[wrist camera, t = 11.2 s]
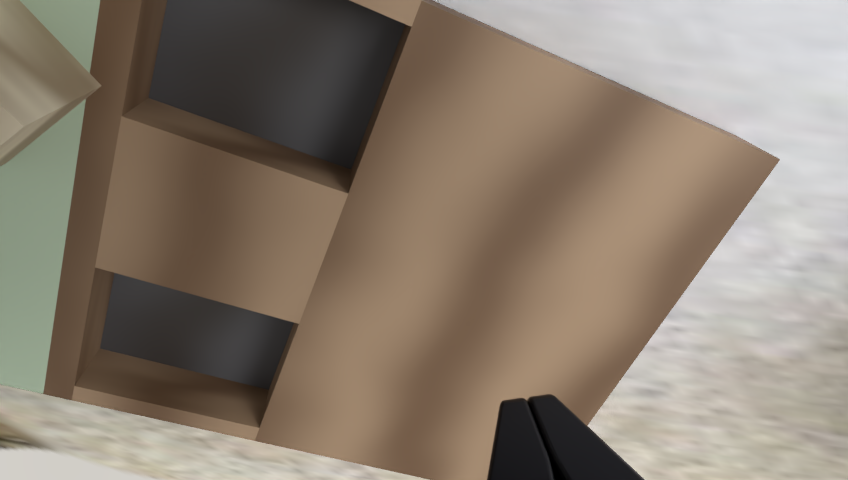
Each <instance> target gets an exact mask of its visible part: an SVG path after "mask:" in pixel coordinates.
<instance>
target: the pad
mask: <svg viewBox="0 0 848 480" xmlns="http://www.w3.org/2000/svg"><path fill="white" fill-rule="evenodd" d="M20 1H21V2H22V3H23V4H24V5H25V6H26V8H27V9H28V10H29V11H30V12H31V13H32V14H33V15H34V16H35V17H36V18H37V19H38V20H39V21H40V22H41V23H42V24H43V25H44V26H45V27H46V28H47V29H48V30H49V31H50V33H51V34H52V35H53V36H54V37H55V38H56V39H57V40H58V41H59V42H60V43H61V44H62V45H63V46H64V47H65V48H66V49H67V50H68V51H69V52H70V53H71V54H72V55H73V56H74V57H75V59H76V60H77V61H78V62H79V63H80V64H81V65H82V66H83V67H84V68H85V69H86V70H87V71H88V72H89V73H90V68H91V61H92V54H93V47H94V40H95V33H96V26H97V19H98V12H99V6H100V0H20ZM85 102H86V99H85V100H84V101H82V102H81V103H80V104H79V105H77V106H76V107H75V108H74V109H73V110H71V111H70V112H69V113H68V114H66V115H65V116H64V117H63V118H61V119H60V120H59V121H58V122H57V123H55V124H54V125H53V126H52V127H50V128H49V129H48V130H47V131H45V132H44V133H43V134H42V135H40V136H39V137H38V138H37V139H36V140H34V141H33V142H32V143H31V144H29V145H28V146H27V147H26V148H24V149H23V150H22V151H21V152H19V153H18V154H17V155H16V156H15V157H13V158H12V159H11V160H10V161H8V162H7V163H5V164H4V165H2V166H0V384H1V385H5V386H10V387H14V388H19V389H23V390H28V391H32V392H37V393H41V394H43V392H44V385H45V378H46V372H47V365H48V358H49V351H50V344H51V337H52V330H53V323H54V316H55V309H56V303H57V296H58V289H59V282H60V275H61V268H62V261H63V254H64V247H65V240H66V233H67V227H68V220H69V213H70V206H71V199H72V192H73V185H74V178H75V171H76V164H77V157H78V151H79V144H80V137H81V130H82V123H83V116H84V109H85Z"/></svg>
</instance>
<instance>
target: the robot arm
mask: <svg viewBox="0 0 848 480" xmlns="http://www.w3.org/2000/svg"><path fill="white" fill-rule="evenodd" d="M487 480H644V479H643V478H642V477H641V476H640V475H639V474H638V473H637V472H636V471H635V470H634V469H633V468H632V467H630V466H629V465H628V464H627V463H626V462H625V461H624V460H623V459H622V458H621V457H620V456H619V455H618V454H617V453H616V452H614V451H613V450H612V449H611V448H610V447H609V446H608V445H607V444H606V443H605V442H604V441H603V440H602V439H601V438H599V437H598V436H597V435H596V434H595V433H594V432H593V431H592V430H591V429H590V428H589V427H588V426H587V425H586V424H585V423H583V422H582V421H581V420H580V419H579V418H578V417H577V416H576V415H575V414H574V413H573V412H572V411H571V410H570V409H569V408H567V407H566V406H565V405H564V404H563V403H562V402H561V401H560V400H559V399H558V398H557V397H556V396H554V395H552V394H546V395H539V396H531V397H529V398H528V399H527V400H526V399H525V398H517V399H509V400H503V401H502V402H501V403H500V406H499V412H498V418H497V424H496V430H495V435H494V441H493V447H492V453H491V459H490V464H489V470H488V476H487Z"/></svg>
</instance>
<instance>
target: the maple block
mask: <svg viewBox="0 0 848 480" xmlns="http://www.w3.org/2000/svg"><path fill="white" fill-rule="evenodd" d="M100 87H101V85H100V84H99V82H98V81H97V80H96V79H95V78H94V77H93V76H92V75H91V74H90V73H89V72H88V71H87V70H86V69H85V68H84V67H83V66H82V65H81V64H80V63H79V62H78V61H77V60H76V59H75V57H74V56H73V55H72V54H71V53H70V52H69V51H68V50H67V49H66V48H65V47H64V46H63V45H62V44H61V43H60V42H59V41H58V40H57V39H56V38H55V37H54V36H53V35H52V34H51V33H50V31H49V30H48V29H47V28H46V27H45V26H44V25H43V24H42V23H41V22H40V21H39V20H38V19H37V18H36V17H35V16H34V15H33V14H32V13H31V12H30V11H29V10H28V9H27V8H26V6H25V5H24V4H23V3H22V2H21V1H20V0H0V166H2V165H4V164H5V163H7V162H8V161H10V160H11V159H12V158H13V157H15V156H16V155H17V154H18V153H19V152H21V151H22V150H23V149H24V148H26V147H27V146H28V145H29V144H31V143H32V142H33V141H34V140H36V139H37V138H38V137H39V136H40V135H42V134H43V133H44V132H45V131H47V130H48V129H49V128H50V127H52V126H53V125H54V124H55V123H57V122H58V121H59V120H60V119H61V118H63V117H64V116H65V115H66V114H68V113H69V112H70V111H71V110H73V109H74V108H75V107H76V106H77V105H79V104H80V103H81V102H82V101H84V100H85V99H86V98H87V97H89V96H90V95H91V94H92V93H94V92H95V91H96V90H97V89H98V88H100Z"/></svg>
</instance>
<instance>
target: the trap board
mask: <svg viewBox="0 0 848 480" xmlns="http://www.w3.org/2000/svg"><path fill="white" fill-rule="evenodd" d="M90 74H91V75H92V76H93V77H94V78H95V79H96V80H97V81H98V82H99V84H100V85H101V87H100V88H98V89H97V90H96V91H95V92H94V93H92V94H91V95H90V96H89V97H87V98H86V102H85V109H84V116H83V123H82V130H81V137H80V144H79V151H78V157H77V164H76V171H75V178H74V185H73V192H72V199H71V206H70V213H69V220H68V227H67V233H66V240H65V247H64V254H63V261H62V268H61V275H60V282H59V289H58V296H57V303H56V309H55V316H54V323H53V330H52V337H51V344H50V351H49V358H48V365H47V372H46V378H45V385H44V392H43V394H46V395H50V396H55V397H60V398H64V399H69V400H73V401H78V402H82V403H87V404H91V405H96V406H100V407H105V408H109V409H114V410H118V411H123V412H127V413H132V414H136V415H141V416H145V417H150V418H154V419H159V420H163V421H168V422H172V423H177V424H181V425H186V426H191V427H195V428H200V429H204V430H209V431H213V432H218V433H222V434H227V435H231V436H236V437H240V438H245V439H249V440H254V441H258V442H263V443H267V444H272V445H276V446H281V447H285V448H290V449H294V450H299V451H303V452H308V453H313V454H317V455H322V456H326V457H331V458H335V459H340V460H344V461H349V462H353V463H358V464H362V465H367V466H371V467H376V468H380V469H385V470H389V471H394V472H398V473H403V474H407V475H412V476H416V477H421V478H425V479H430V480H487V476H488V470H489V464H490V459H491V453H492V447H493V441H494V435H495V430H496V424H497V418H498V412H499V406H500V403H501V402H502V401H503V400H509V399H517V398H525V399H526V400H527V399H528V398H529V397H531V396H539V395H546V394H552V395H554V396H556V397H557V398H558V399H559V400H560V401H561V402H562V403H563V404H564V405H565V406H566V407H567V408H569V409H570V410H571V411H572V412H573V413H574V414H575V415H576V416H577V417H578V418H579V419H580V420H581V421H582V422H583V423H585V424H586V425H588V424H589V422H590V421H591V420H592V418H593V417H594V416H595V414H596V413H597V411H598V410H599V409H600V407H601V406H602V405H603V403H604V402H605V400H606V399H607V398H608V396H609V395H610V393H611V392H612V391H613V389H614V388H615V387H616V385H617V384H618V382H619V381H620V380H621V378H622V377H623V376H624V374H625V373H626V371H627V370H628V369H629V367H630V366H631V364H632V363H633V362H634V360H635V359H636V358H637V356H638V355H639V353H640V352H641V351H642V349H643V348H644V347H645V345H646V344H647V342H648V341H649V340H650V338H651V337H652V335H653V334H654V333H655V331H656V330H657V329H658V327H659V326H660V324H661V323H662V322H663V320H664V319H665V318H666V316H667V315H668V313H669V312H670V311H671V309H672V308H673V307H674V305H675V304H676V302H677V301H678V300H679V298H680V297H681V295H682V294H683V293H684V291H685V290H686V289H687V287H688V286H689V284H690V283H691V282H692V280H693V279H694V278H695V276H696V275H697V273H698V272H699V271H700V269H701V268H702V266H703V265H704V264H705V262H706V261H707V260H708V258H709V257H710V255H711V254H712V253H713V251H714V250H715V249H716V247H717V246H718V244H719V243H720V242H721V240H722V239H723V237H724V236H725V235H726V233H727V232H728V231H729V229H730V228H731V226H732V225H733V224H734V222H735V221H736V220H737V218H738V217H739V215H740V214H741V213H742V211H743V210H744V208H745V207H746V206H747V204H748V203H749V202H750V200H751V199H752V197H753V196H754V195H755V193H756V192H757V191H758V189H759V188H760V186H761V185H762V184H763V182H764V181H765V180H766V178H767V177H768V175H769V174H770V173H771V171H772V170H773V168H774V167H775V166H776V164H777V163H778V162H779V160H780V159H778V158H776V157H774V156H773V155H771V154H769V153H767V152H765V151H763V150H762V149H760V148H758V147H756V146H754V145H752V144H750V143H749V142H747V141H745V140H743V139H741V138H739V137H737V136H735V135H733V134H731V133H728V132H726V131H724V130H722V129H719V128H717V127H715V126H713V125H711V124H708V123H706V122H704V121H702V120H699V119H697V118H695V117H693V116H690V115H688V114H686V113H684V112H681V111H679V110H677V109H675V108H672V107H670V106H668V105H666V104H663V103H661V102H659V101H657V100H654V99H652V98H650V97H648V96H645V95H643V94H641V93H639V92H637V91H634V90H632V89H630V88H628V87H625V86H623V85H621V84H619V83H616V82H614V81H612V80H610V79H607V78H605V77H603V76H601V75H598V74H596V73H594V72H592V71H589V70H587V69H585V68H583V67H580V66H578V65H576V64H574V63H571V62H569V61H567V60H565V59H563V58H560V57H558V56H556V55H554V54H551V53H549V52H547V51H545V50H542V49H540V48H538V47H536V46H533V45H531V44H529V43H527V42H524V41H522V40H520V39H518V38H515V37H513V36H511V35H509V34H506V33H504V32H502V31H500V30H498V29H495V28H493V27H491V26H489V25H486V24H484V23H482V22H480V21H477V20H475V19H473V18H471V17H468V16H466V15H464V14H462V13H459V12H457V11H455V10H453V9H450V8H448V7H446V6H444V5H441V4H439V3H437V2H435V1H432V0H100V6H99V12H98V19H97V26H96V33H95V40H94V47H93V54H92V61H91V68H90Z"/></svg>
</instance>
